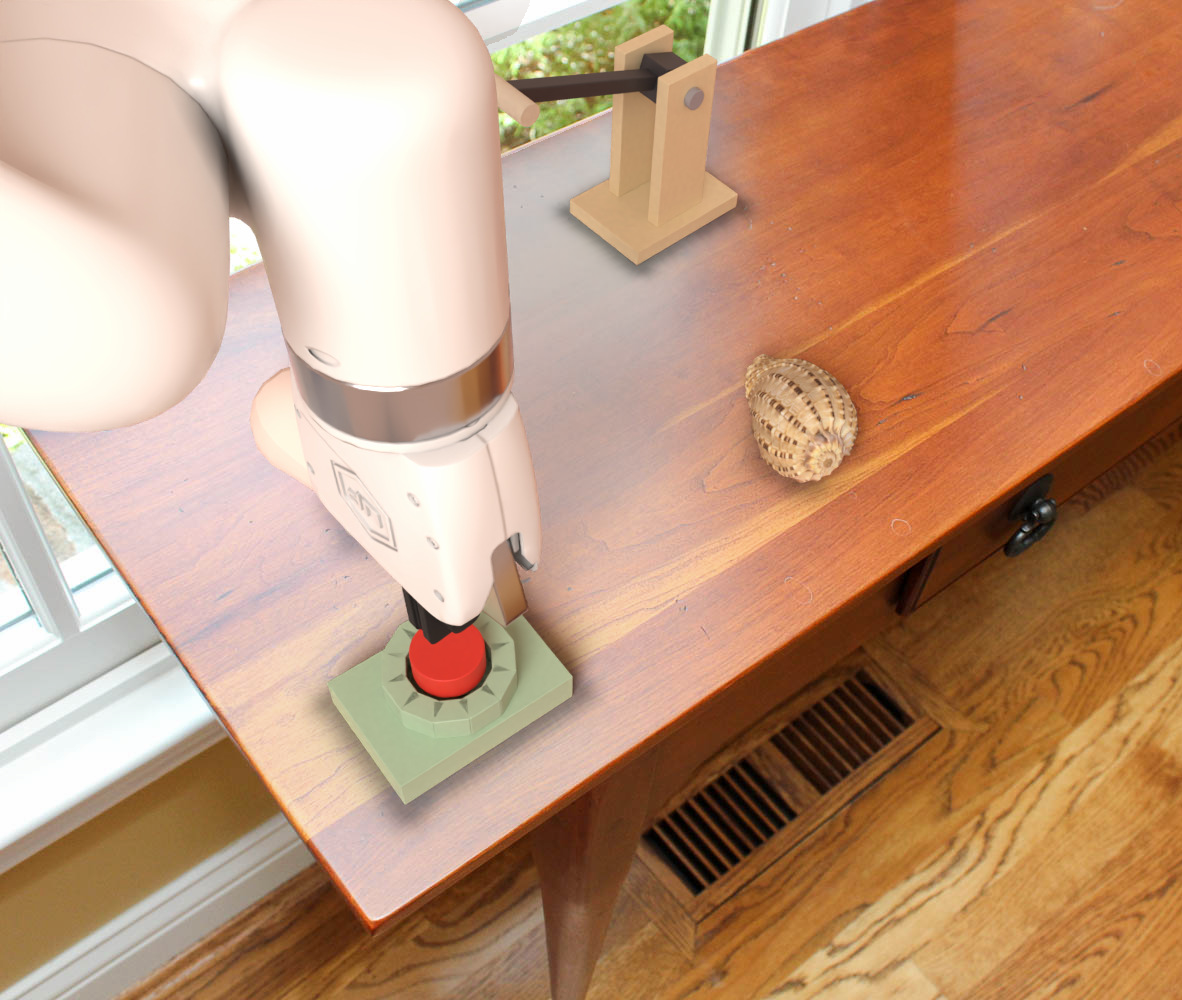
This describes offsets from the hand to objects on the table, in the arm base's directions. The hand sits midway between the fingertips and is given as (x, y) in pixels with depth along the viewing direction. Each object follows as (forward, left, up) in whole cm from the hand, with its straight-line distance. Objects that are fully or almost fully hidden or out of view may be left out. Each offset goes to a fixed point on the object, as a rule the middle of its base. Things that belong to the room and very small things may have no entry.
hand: (448, 615), depth 57 cm
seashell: (+20, +17, -9) cm, 28 cm away
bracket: (+13, +38, -8) cm, 42 cm away
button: (0, 0, -5) cm, 5 cm away
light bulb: (-7, +14, -9) cm, 18 cm away
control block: (0, 0, -8) cm, 8 cm away
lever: (+8, +34, +4) cm, 35 cm away
